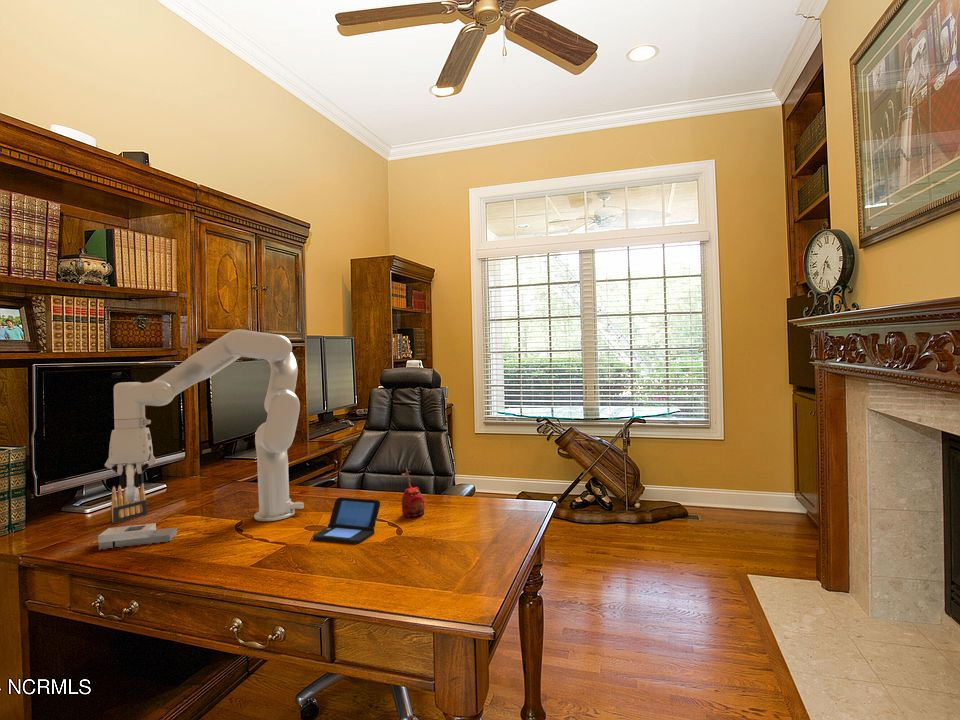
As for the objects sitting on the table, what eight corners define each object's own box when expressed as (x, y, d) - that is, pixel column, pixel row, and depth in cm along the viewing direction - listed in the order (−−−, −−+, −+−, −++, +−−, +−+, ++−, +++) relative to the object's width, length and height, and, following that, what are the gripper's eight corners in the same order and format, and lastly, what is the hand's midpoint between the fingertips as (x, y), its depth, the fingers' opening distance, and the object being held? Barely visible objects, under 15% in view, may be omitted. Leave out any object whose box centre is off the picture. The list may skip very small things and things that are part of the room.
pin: (142, 498, 155) (141, 454, 155) (137, 502, 152) (136, 456, 151) (126, 499, 154) (125, 455, 154) (121, 503, 151) (120, 457, 150)
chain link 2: (177, 534, 159) (176, 527, 159) (169, 541, 153) (169, 535, 153) (124, 539, 156) (124, 533, 156) (114, 548, 149) (114, 541, 149)
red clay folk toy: (409, 520, 166) (407, 472, 165) (397, 515, 171) (395, 469, 171) (428, 514, 171) (427, 468, 170) (416, 510, 176) (415, 465, 176)
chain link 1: (156, 536, 158) (155, 523, 158) (148, 544, 151) (147, 530, 151) (109, 541, 155) (108, 528, 155) (98, 549, 148) (98, 535, 148)
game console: (310, 541, 150) (309, 509, 150) (338, 525, 163) (337, 496, 163) (358, 545, 145) (356, 513, 145) (382, 529, 158) (381, 499, 158)
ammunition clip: (113, 523, 172) (112, 487, 172) (110, 522, 173) (109, 486, 173) (147, 514, 182) (146, 479, 182) (144, 513, 183) (143, 479, 182)
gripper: (165, 421, 159) (167, 482, 159) (103, 424, 154) (105, 486, 154) (157, 424, 151) (158, 487, 151) (91, 427, 147) (93, 492, 147)
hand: (131, 486), depth 153 cm, fingers closed on pin, 3 cm apart
